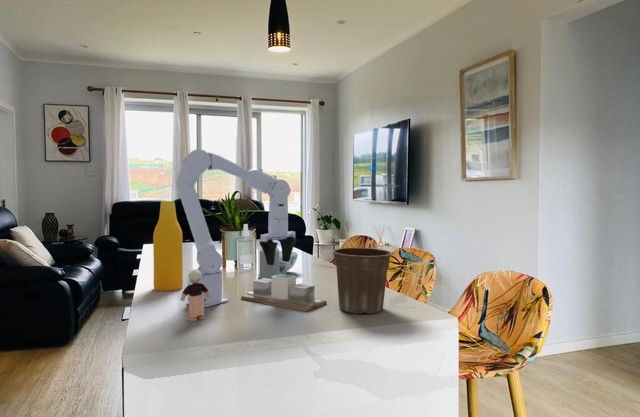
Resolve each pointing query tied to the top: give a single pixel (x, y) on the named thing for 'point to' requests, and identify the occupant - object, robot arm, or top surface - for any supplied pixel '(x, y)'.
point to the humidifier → (265, 269)
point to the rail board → (299, 299)
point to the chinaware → (286, 265)
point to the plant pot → (361, 279)
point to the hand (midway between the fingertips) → (278, 263)
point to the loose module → (282, 285)
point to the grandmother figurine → (195, 296)
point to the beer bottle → (168, 250)
